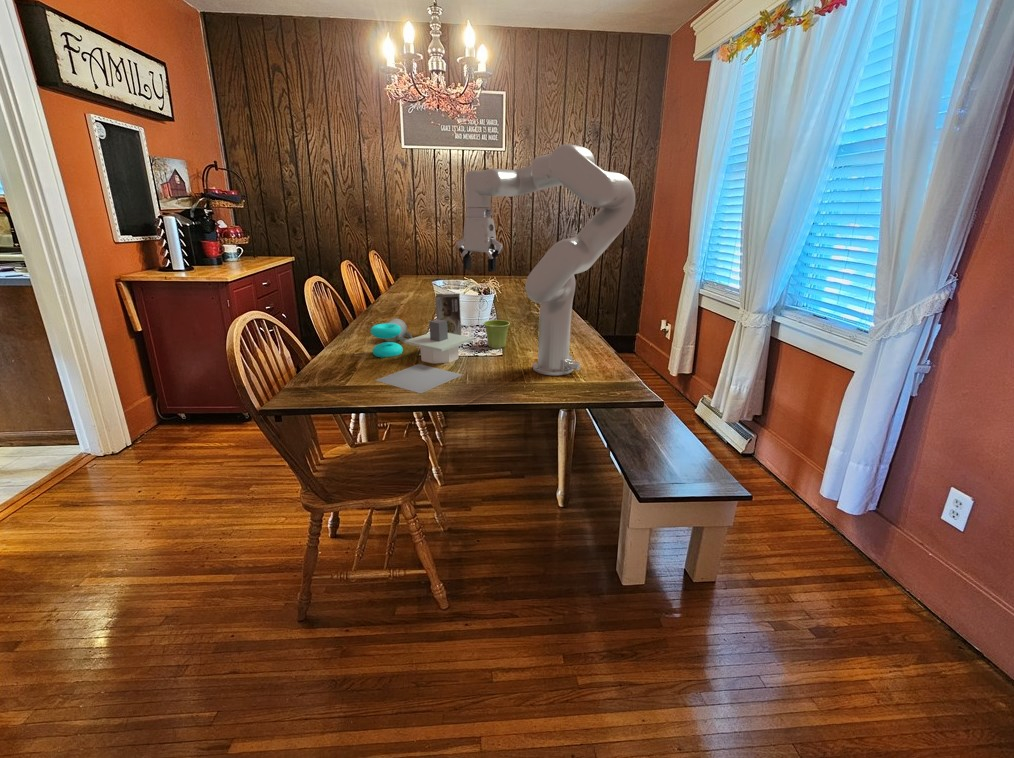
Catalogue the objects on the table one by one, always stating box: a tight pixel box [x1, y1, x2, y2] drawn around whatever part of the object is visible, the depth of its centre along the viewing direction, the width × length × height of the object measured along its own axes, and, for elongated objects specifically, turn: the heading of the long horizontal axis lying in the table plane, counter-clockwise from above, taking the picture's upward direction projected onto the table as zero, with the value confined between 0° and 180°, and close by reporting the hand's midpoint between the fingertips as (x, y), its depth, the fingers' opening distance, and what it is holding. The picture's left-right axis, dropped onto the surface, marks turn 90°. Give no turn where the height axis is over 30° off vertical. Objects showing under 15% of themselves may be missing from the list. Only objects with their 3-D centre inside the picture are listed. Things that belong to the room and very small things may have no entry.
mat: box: [374, 363, 463, 394], centre depth 140 cm, size 18×18×1 cm
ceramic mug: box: [382, 318, 413, 343], centre depth 178 cm, size 11×8×8 cm
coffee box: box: [435, 293, 463, 336], centre depth 183 cm, size 9×6×16 cm
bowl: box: [420, 345, 460, 364], centre depth 157 cm, size 12×12×6 cm
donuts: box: [370, 322, 404, 359], centre depth 161 cm, size 10×10×10 cm
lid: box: [403, 318, 474, 352], centre depth 155 cm, size 16×16×7 cm
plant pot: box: [483, 319, 511, 349], centre depth 171 cm, size 9×9×9 cm
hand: (479, 270), depth 154 cm, fingers open, 9 cm apart
